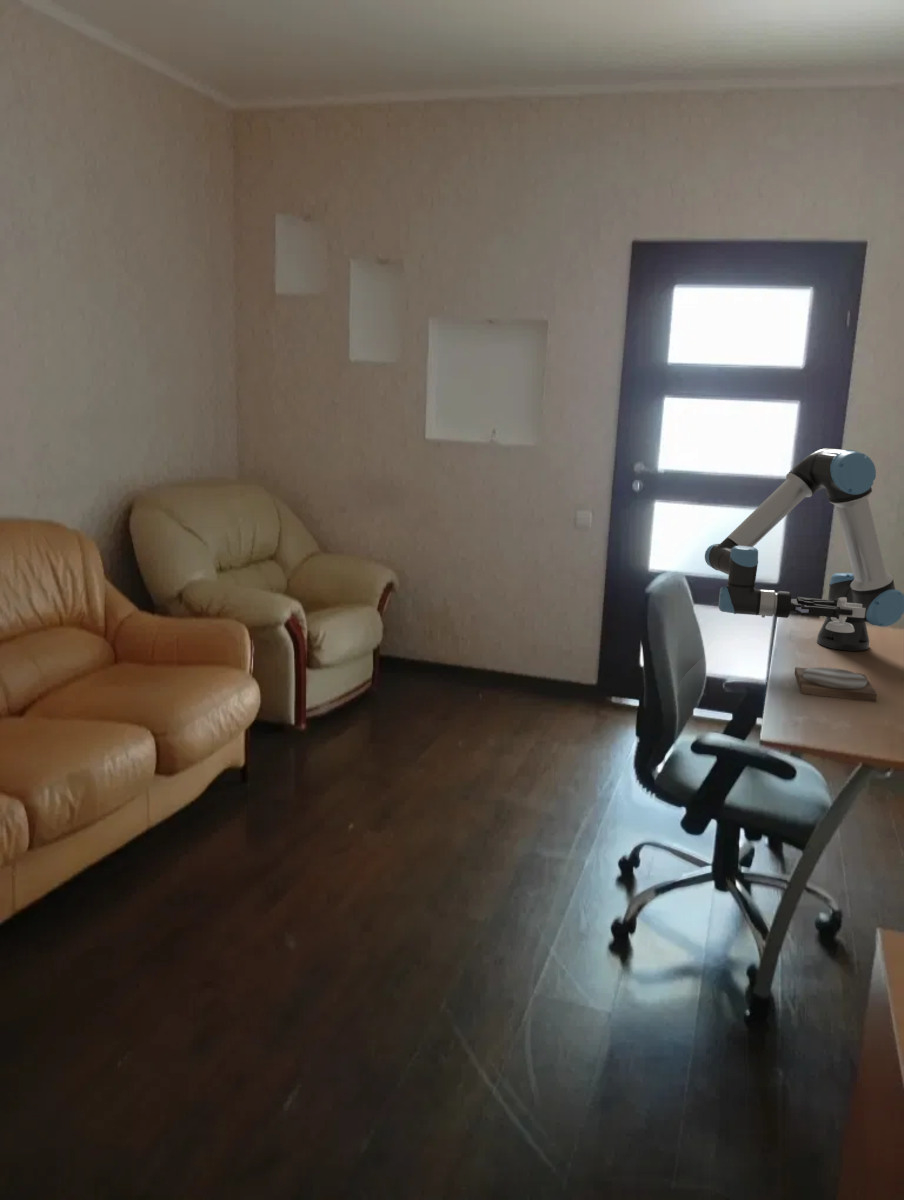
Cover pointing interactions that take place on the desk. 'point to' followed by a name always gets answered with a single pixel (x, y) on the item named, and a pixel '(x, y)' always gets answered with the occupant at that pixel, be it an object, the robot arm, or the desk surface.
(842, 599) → the white vr controller
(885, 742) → the desk surface
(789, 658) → the desk surface
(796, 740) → the desk surface
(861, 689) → the rosette stand
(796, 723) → the desk surface
